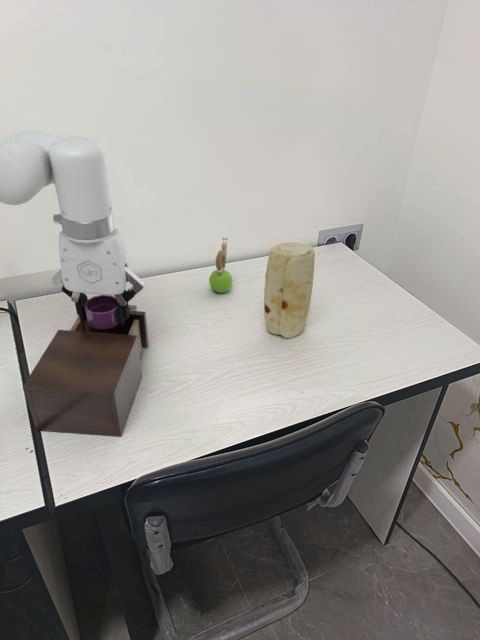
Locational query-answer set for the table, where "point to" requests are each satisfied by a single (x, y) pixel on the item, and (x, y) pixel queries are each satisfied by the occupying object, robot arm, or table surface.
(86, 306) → the bowl
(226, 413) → the table surface
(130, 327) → the drawer
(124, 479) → the table surface
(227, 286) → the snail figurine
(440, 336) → the table surface
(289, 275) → the food model
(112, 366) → the dark wooden cabinet
